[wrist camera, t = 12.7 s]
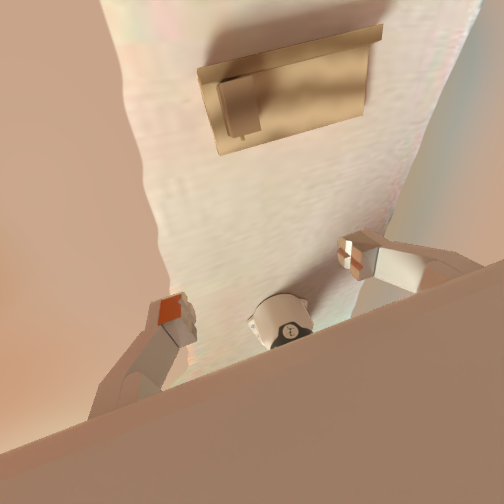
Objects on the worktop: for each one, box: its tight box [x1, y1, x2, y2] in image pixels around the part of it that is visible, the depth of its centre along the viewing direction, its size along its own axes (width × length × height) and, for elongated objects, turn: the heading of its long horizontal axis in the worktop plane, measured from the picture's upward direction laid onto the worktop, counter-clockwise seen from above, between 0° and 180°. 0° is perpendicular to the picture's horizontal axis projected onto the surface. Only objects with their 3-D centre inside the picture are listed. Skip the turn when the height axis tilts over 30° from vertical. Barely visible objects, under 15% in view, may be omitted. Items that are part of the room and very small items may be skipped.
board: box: [197, 24, 383, 156], centre depth 32 cm, size 11×26×4 cm, turn 102°
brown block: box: [216, 76, 261, 141], centre depth 29 cm, size 7×4×5 cm, turn 12°
